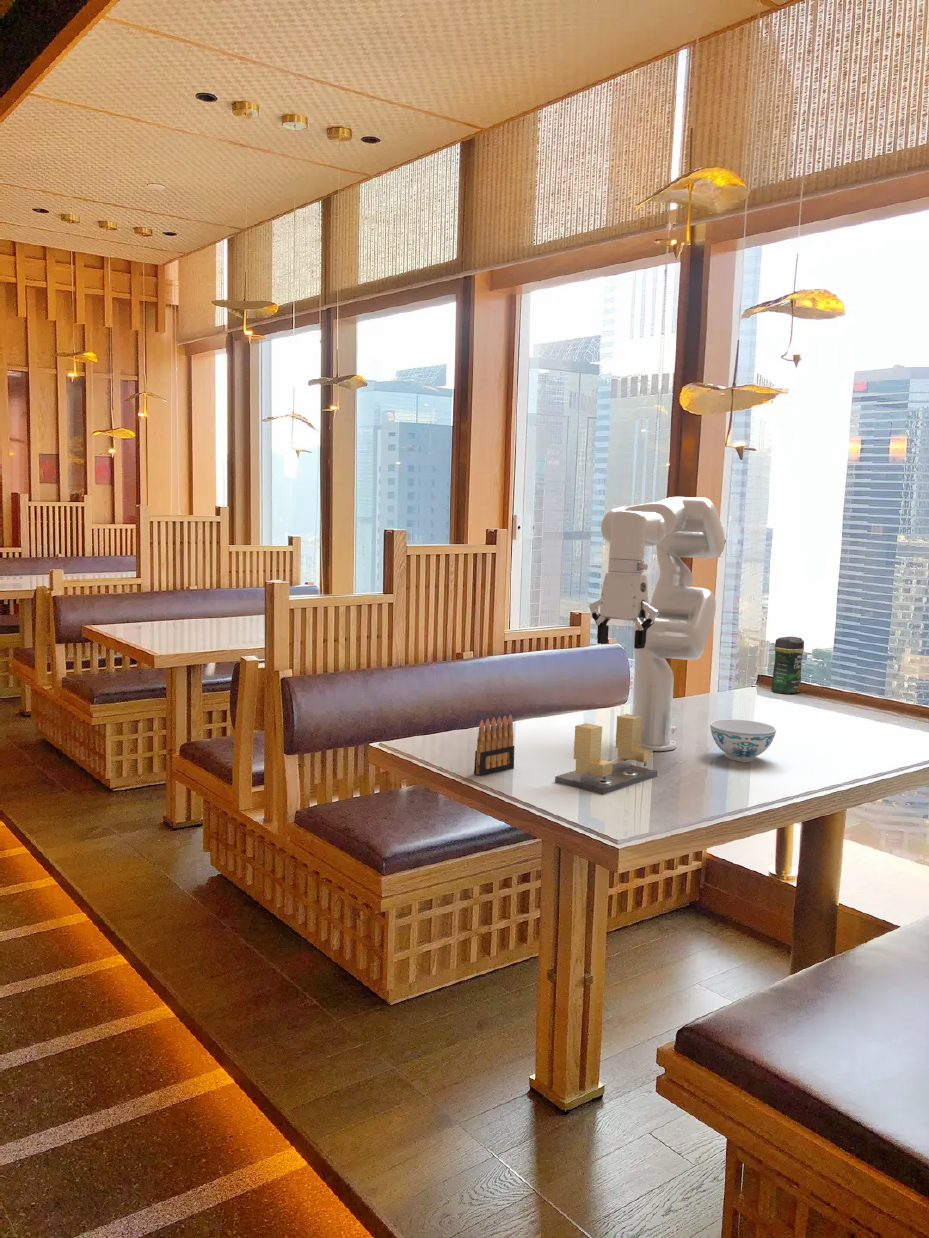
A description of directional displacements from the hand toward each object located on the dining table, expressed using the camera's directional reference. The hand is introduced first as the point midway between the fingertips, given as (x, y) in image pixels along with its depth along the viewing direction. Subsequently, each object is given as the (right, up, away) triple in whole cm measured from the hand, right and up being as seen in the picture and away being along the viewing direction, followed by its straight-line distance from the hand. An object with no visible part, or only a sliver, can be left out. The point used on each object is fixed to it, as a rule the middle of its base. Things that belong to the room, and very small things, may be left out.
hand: (620, 645), depth 216 cm
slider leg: (+3, -26, 0) cm, 26 cm away
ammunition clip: (-28, -27, -4) cm, 39 cm away
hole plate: (-4, -28, -6) cm, 29 cm away
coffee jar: (+72, -19, +110) cm, 133 cm away
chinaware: (+31, -27, +17) cm, 45 cm away
